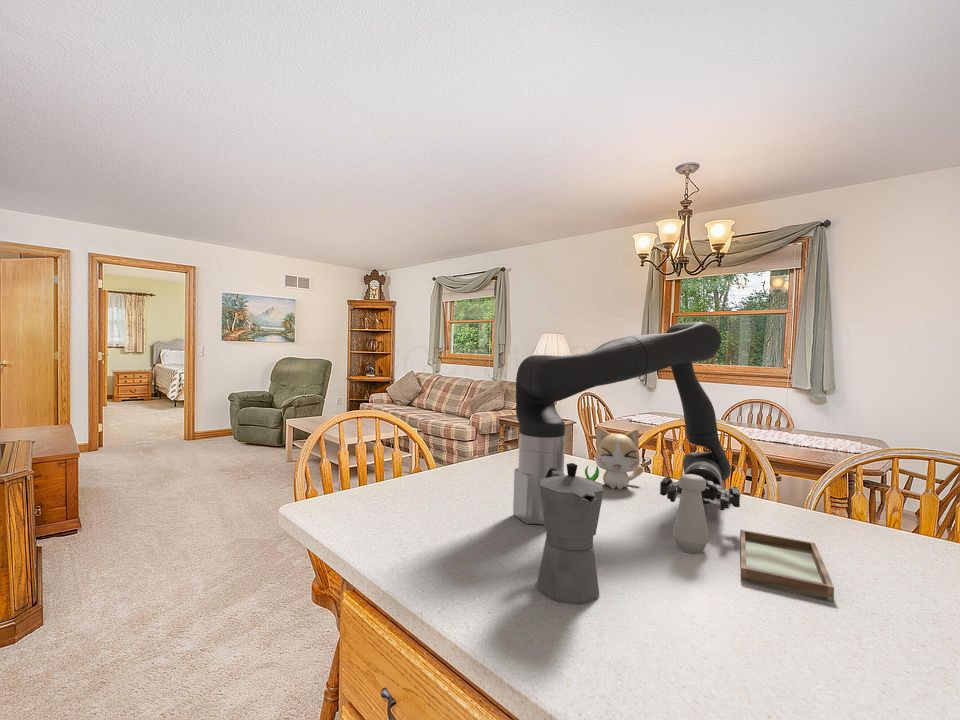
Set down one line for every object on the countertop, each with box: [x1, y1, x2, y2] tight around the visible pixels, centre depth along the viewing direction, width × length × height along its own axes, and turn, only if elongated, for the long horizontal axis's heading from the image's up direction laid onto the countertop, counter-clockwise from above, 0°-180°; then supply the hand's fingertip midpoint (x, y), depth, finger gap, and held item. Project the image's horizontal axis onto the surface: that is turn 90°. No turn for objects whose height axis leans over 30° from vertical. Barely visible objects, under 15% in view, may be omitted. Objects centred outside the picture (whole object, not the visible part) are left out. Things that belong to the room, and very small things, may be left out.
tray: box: [739, 529, 835, 603], centre depth 77 cm, size 18×11×2 cm, turn 151°
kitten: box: [584, 426, 644, 491], centre depth 122 cm, size 15×10×15 cm, turn 76°
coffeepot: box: [536, 462, 605, 605], centre depth 69 cm, size 15×9×18 cm, turn 13°
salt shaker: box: [672, 473, 710, 555], centre depth 83 cm, size 6×6×13 cm
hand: (696, 500), depth 88 cm, fingers open, 8 cm apart
